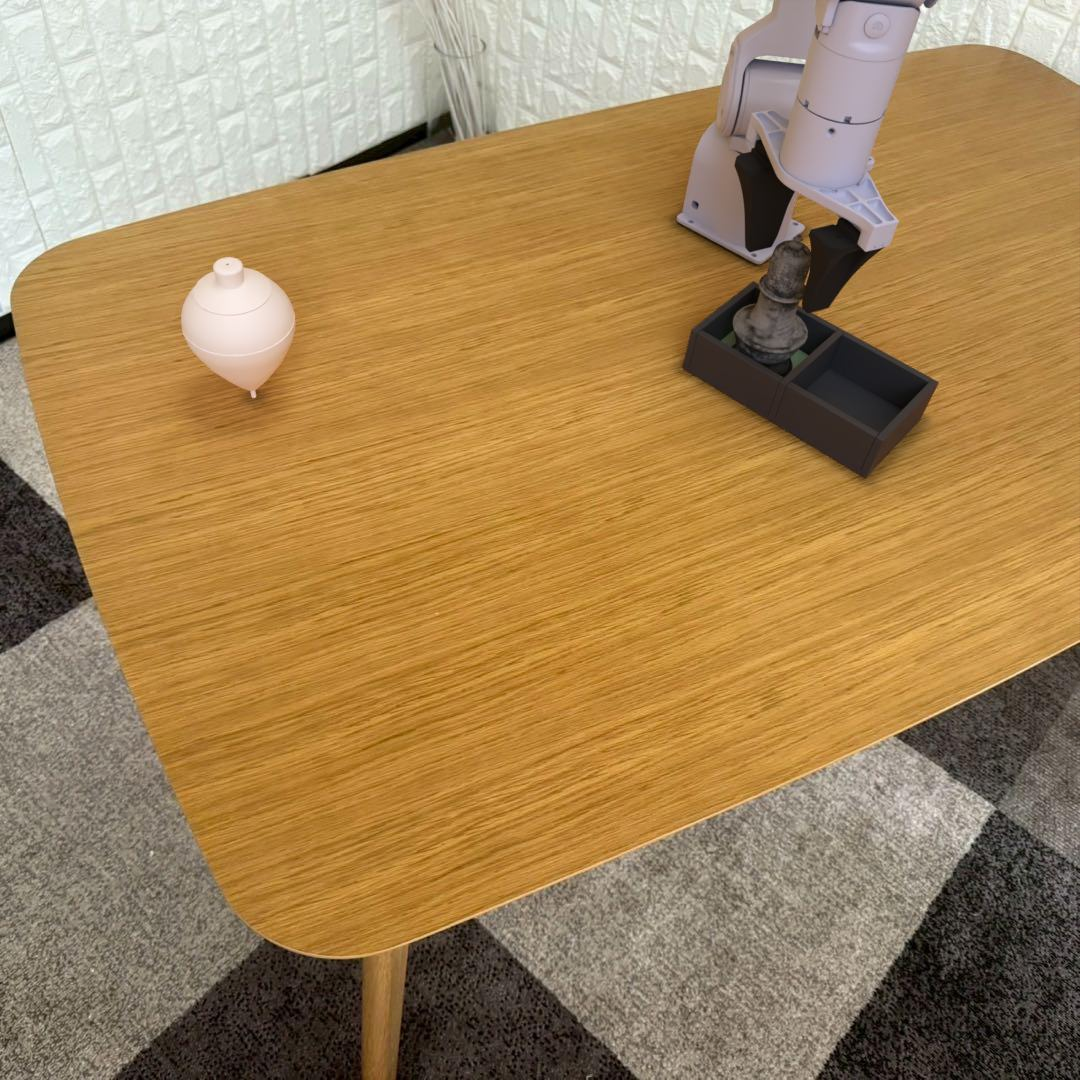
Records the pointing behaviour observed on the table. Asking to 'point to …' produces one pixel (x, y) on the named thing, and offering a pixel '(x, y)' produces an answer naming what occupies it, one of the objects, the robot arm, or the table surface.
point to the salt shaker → (776, 310)
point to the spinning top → (238, 323)
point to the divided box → (816, 386)
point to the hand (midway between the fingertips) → (786, 276)
